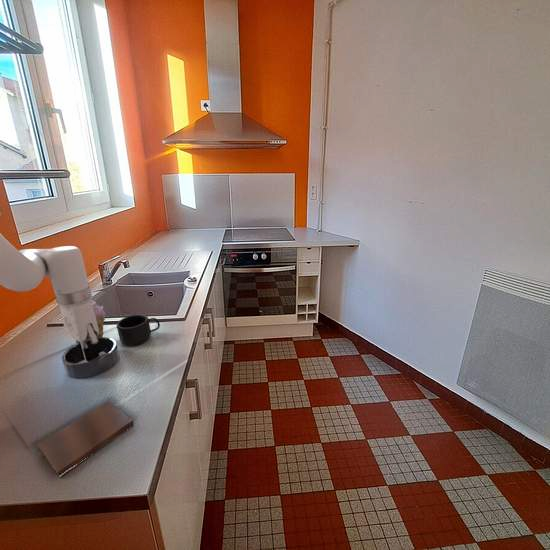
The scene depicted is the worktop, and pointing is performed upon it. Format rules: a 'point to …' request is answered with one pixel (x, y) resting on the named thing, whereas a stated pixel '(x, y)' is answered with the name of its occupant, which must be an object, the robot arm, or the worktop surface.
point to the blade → (93, 359)
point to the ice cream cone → (98, 317)
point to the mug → (135, 329)
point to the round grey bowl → (94, 366)
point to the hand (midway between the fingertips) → (89, 356)
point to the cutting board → (84, 437)
